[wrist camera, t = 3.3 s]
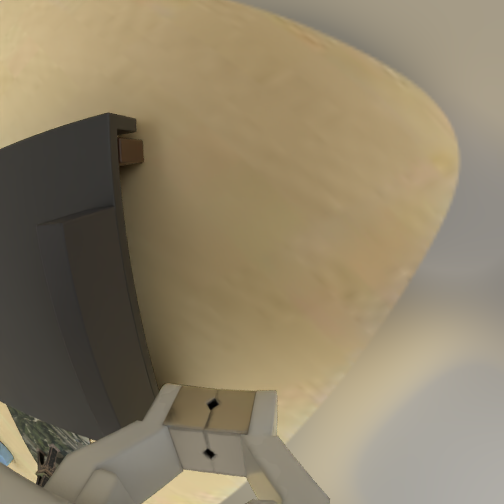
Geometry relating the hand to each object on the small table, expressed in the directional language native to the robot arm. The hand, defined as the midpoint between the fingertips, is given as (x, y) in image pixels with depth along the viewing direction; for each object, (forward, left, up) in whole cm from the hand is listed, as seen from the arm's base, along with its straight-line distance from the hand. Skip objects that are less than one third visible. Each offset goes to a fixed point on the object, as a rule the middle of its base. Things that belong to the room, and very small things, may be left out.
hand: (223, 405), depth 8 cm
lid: (+13, 0, -6) cm, 14 cm away
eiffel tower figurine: (+20, +18, -6) cm, 27 cm away
